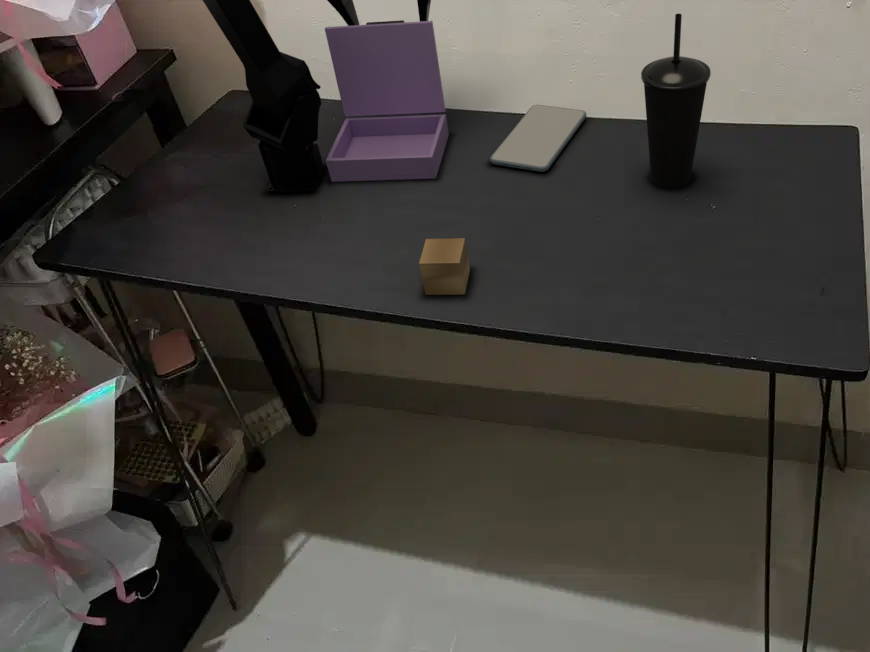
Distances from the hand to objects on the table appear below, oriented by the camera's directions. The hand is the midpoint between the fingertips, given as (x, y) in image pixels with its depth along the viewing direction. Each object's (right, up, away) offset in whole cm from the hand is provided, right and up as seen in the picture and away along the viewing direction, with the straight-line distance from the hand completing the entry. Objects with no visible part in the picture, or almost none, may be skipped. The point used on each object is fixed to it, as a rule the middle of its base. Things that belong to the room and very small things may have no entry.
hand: (391, 34), depth 113 cm
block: (+9, -36, -20) cm, 42 cm away
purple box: (0, -17, +1) cm, 17 cm away
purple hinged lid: (0, -6, -2) cm, 6 cm away
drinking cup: (+36, -22, -10) cm, 43 cm away
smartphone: (+20, -15, 0) cm, 25 cm away
